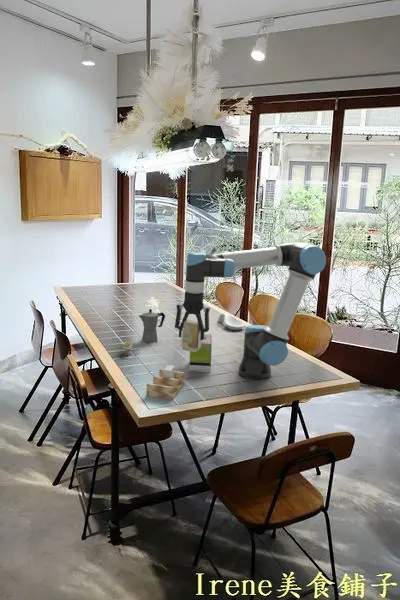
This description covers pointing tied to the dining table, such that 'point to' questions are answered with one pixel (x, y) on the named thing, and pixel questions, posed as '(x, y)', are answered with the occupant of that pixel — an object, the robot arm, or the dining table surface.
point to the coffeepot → (151, 325)
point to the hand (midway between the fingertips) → (190, 346)
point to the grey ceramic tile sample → (169, 372)
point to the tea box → (202, 356)
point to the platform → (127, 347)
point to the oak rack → (165, 385)
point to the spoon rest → (231, 322)
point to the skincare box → (190, 336)
